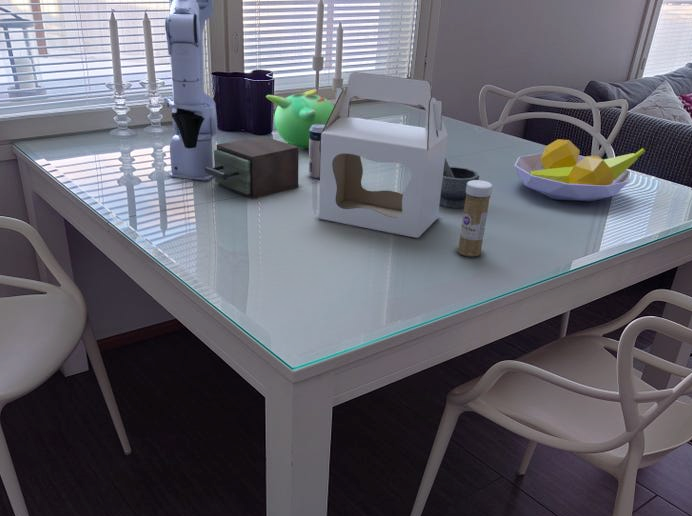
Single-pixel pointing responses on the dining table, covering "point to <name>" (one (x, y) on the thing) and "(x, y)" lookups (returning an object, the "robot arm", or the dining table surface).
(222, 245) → the dining table surface
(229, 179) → the green-fronted drawer
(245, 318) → the dining table surface
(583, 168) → the fruit bowl
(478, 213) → the sprinkles bottle
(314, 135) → the spice jar
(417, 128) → the gable box
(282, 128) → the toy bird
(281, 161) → the cabinet
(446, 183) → the mortar and pestle
